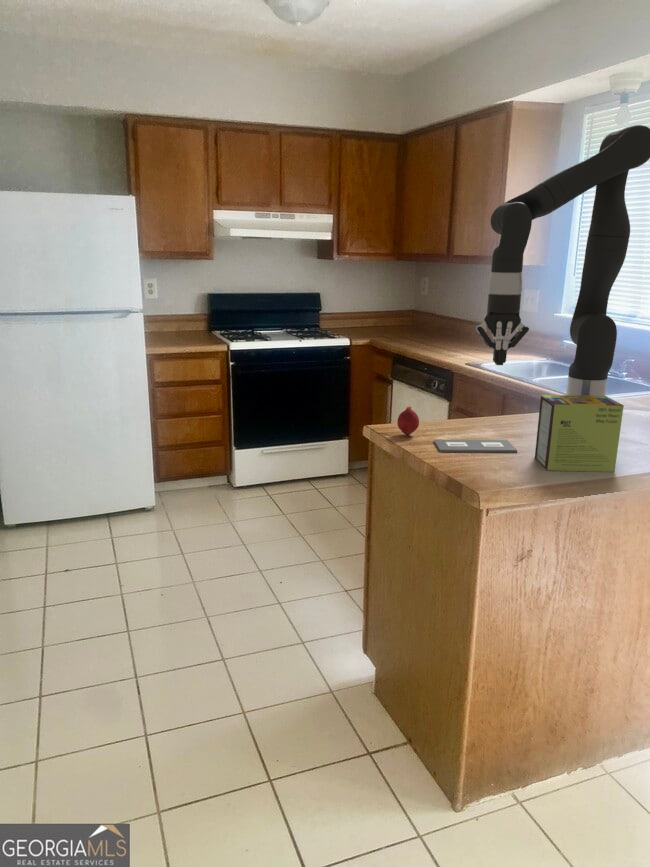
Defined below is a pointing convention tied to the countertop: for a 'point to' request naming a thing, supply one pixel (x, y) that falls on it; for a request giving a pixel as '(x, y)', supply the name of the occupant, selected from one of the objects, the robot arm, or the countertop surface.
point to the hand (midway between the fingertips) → (498, 364)
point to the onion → (408, 421)
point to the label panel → (474, 446)
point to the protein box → (578, 433)
